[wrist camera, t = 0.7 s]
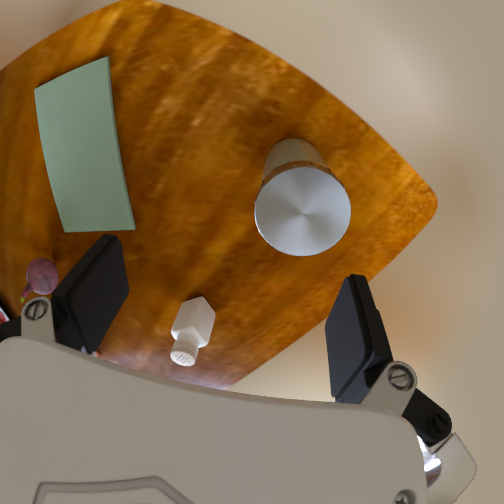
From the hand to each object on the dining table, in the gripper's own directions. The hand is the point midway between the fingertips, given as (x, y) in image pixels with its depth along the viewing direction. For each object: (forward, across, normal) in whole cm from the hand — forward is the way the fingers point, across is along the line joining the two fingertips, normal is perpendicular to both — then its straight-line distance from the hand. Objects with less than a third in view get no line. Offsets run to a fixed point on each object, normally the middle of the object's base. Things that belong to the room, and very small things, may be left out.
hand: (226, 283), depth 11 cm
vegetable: (+20, +32, +20) cm, 43 cm away
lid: (+8, -4, 0) cm, 9 cm away
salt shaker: (+20, +6, +22) cm, 30 cm away
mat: (+20, +23, +1) cm, 30 cm away
